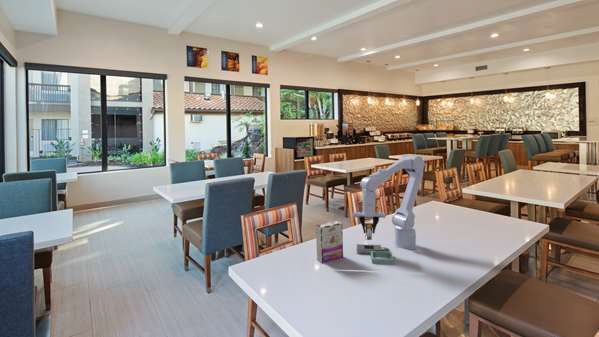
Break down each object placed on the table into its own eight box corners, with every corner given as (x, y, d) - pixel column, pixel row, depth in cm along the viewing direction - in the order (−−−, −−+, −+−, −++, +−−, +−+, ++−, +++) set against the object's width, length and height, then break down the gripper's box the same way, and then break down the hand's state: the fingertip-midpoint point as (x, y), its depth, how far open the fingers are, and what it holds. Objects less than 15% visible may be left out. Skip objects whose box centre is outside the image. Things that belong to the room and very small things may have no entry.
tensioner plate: (389, 250, 152) (389, 245, 151) (390, 256, 145) (391, 250, 144) (356, 249, 154) (356, 244, 154) (356, 255, 147) (356, 249, 147)
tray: (391, 256, 144) (391, 251, 144) (393, 265, 135) (393, 259, 135) (370, 255, 146) (370, 250, 145) (371, 264, 137) (371, 258, 137)
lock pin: (372, 237, 150) (372, 222, 149) (372, 240, 147) (373, 225, 146) (364, 237, 151) (364, 222, 150) (364, 239, 147) (365, 224, 146)
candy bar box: (337, 255, 148) (336, 220, 146) (343, 258, 143) (343, 222, 141) (316, 260, 143) (315, 224, 141) (322, 264, 138) (321, 227, 136)
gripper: (384, 201, 150) (384, 230, 151) (352, 201, 152) (352, 229, 154) (386, 205, 143) (385, 235, 144) (352, 205, 145) (353, 234, 147)
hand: (369, 232), depth 148 cm, fingers closed on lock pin, 3 cm apart
